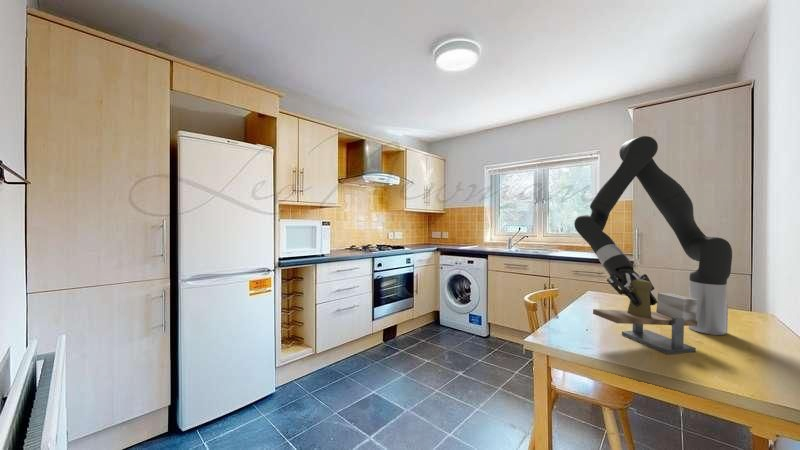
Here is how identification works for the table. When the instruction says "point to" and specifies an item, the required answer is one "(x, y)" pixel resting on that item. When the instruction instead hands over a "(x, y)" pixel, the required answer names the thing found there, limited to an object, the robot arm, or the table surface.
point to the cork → (641, 298)
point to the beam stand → (662, 338)
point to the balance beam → (657, 312)
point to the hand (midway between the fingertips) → (646, 304)
